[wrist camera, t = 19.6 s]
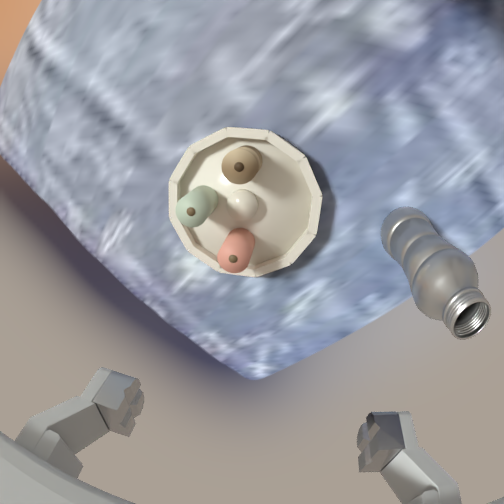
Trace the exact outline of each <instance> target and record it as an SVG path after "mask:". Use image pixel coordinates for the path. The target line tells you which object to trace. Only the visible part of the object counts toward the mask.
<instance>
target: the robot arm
mask: <svg viewBox="0 0 504 504" xmlns="http://www.w3.org/2000/svg"><path fill="white" fill-rule="evenodd" d="M140 385H141V384H140V381H139V379H137V378H134V377H131V376H128V375H125V374H122V373H119V372H116V371H113V370H110V369H107V368H103V367H101V368H100V369H98V371H97V372H96V374H95V375H94V377H93V378H92V380H91V381H90V383H89V384H88V386H87V387H86V389H85V390H84V392H83V393H82V395H81V396H80V397H79V396H76V397H73V398H71V399H69V400H67V401H65V402H63V403H61V404H59V405H56V406H55V407H52V408H50V409H48V410H46V411H44V412H41V413H39V414H37V415H35V416H33V417H31V418H30V419H29V420H28V422H27V423H26V425H25V426H24V428H23V429H22V431H21V432H20V434H19V435H18V437H17V438H16V440H15V441H13V440H12V439H10V438H9V437H8V436H6V435H5V434H4V433H2V432H1V431H0V504H135V503H132V502H130V501H127V500H124V499H122V498H119V497H117V496H114V495H112V494H109V493H107V492H105V491H102V490H100V489H98V488H96V487H93V486H91V485H89V484H87V483H85V482H83V481H81V480H79V479H77V478H78V476H79V474H80V472H81V470H82V468H83V465H82V463H81V462H80V461H79V459H78V458H77V457H76V456H75V454H76V453H78V452H79V451H81V450H82V449H84V448H85V447H87V446H88V445H90V444H91V443H93V442H94V441H96V440H97V439H99V438H100V437H102V436H103V435H105V434H106V433H108V432H109V430H110V431H113V432H116V433H119V434H122V435H125V436H128V437H129V436H130V434H131V432H132V430H133V428H134V426H135V420H134V418H135V417H136V416H138V415H140V413H141V411H142V409H143V404H144V395H143V392H142V391H141V390H140V389H139V387H140ZM366 420H367V422H366V423H364V424H362V425H361V427H360V429H359V432H358V436H357V447H358V448H359V450H360V451H361V452H362V453H361V454H360V455H359V457H358V461H359V472H380V473H381V475H382V476H383V477H384V479H385V480H386V482H387V483H388V485H389V486H390V487H391V489H392V490H393V492H394V493H395V494H396V496H397V497H398V499H399V500H400V502H401V503H402V504H462V503H461V498H460V492H459V487H458V483H457V482H456V481H455V480H454V479H453V478H452V477H451V476H450V475H449V474H448V473H447V472H446V471H445V470H444V469H443V468H442V467H441V466H440V465H439V464H438V463H437V462H436V461H435V460H434V459H433V458H432V457H431V456H430V455H429V454H428V453H427V452H426V451H425V450H424V449H423V448H419V446H418V442H417V437H416V433H415V429H414V425H413V420H412V417H411V414H410V412H407V411H406V412H371V413H369V414H368V416H367V417H366ZM487 504H504V497H502V498H500V499H497V500H495V501H492V502H490V503H487Z"/></svg>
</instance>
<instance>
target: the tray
mask: <svg viewBox="0 0 504 504" xmlns="http://www.w3.org/2000/svg"><path fill="white" fill-rule="evenodd" d="M244 145H249V146H253V147H255V148H256V149H257V150H258V151H259V152H260V153H261V156H262V166H261V168H260V170H259V171H258V172H257V174H256V175H255V177H254V178H253V179H252V180H251V181H250V182H248V183H246V184H234V183H231V182H230V181H228V180H227V179H226V178H225V177H224V175H223V173H222V169H221V165H222V160H223V158H224V157H225V155H226V154H227V153H229V152H230V151H232V150H234V149H236V148H238V147H241V146H244ZM304 156H305V154H303V153H302V152H300V151H299V150H298V149H296V148H295V147H294V146H293V145H291V144H290V143H289V142H288V141H286V140H284V139H283V138H281V137H280V136H278V135H277V134H275V133H274V132H272V131H270V132H269V130H263V129H253V128H238V127H226V128H223V129H221V130H219V131H217V132H215V133H213V134H211V135H209V136H207V137H205V138H203V139H202V140H200V141H198V142H196V143H194V144H192V145H190V147H188V149H187V150H186V152H185V153H184V155H183V157H182V158H181V160H180V162H179V164H178V165H177V167H176V169H175V170H174V172H173V174H172V176H171V177H170V181H169V217H171V218H170V221H171V223H172V224H173V226H174V228H175V230H176V232H177V233H178V235H179V237H180V239H181V241H182V242H183V244H184V246H185V248H186V250H189V251H188V252H189V253H191V254H192V255H194V256H195V257H197V258H198V259H200V260H201V261H203V262H204V263H206V264H207V265H208V266H210V267H211V268H213V269H214V270H216V271H217V272H218V271H219V272H220V273H227V274H234V275H242V276H249V277H255V276H256V277H259V276H261V275H264V274H267V273H270V272H273V271H275V270H278V269H281V268H284V267H287V266H289V265H291V264H293V262H294V261H295V260H296V259H297V258H298V257H299V255H300V254H301V253H302V252H303V251H304V250H305V248H306V247H307V246H308V245H309V244H310V243H311V241H312V240H313V239H314V238H315V237H316V235H317V229H318V223H319V216H320V210H321V203H322V193H321V190H320V188H319V185H318V183H317V181H316V178H315V176H314V173H313V171H312V169H311V167H310V164H309V162H308V160H307V158H306V156H305V157H304ZM201 185H205V186H209V187H211V188H212V189H214V190H215V192H216V193H217V196H218V205H217V207H216V209H215V210H214V211H213V212H212V213H211V215H210V216H209V217H208V218H207V219H206V220H205V222H204V223H203V224H202V225H200V226H198V227H187V226H185V225H183V224H182V223H181V222H180V221H179V220H178V218H177V216H176V205H177V202H178V201H179V200H180V199H181V198H182V197H184V196H185V195H186V194H188V193H189V192H190V191H192V190H193V189H195V188H196V187H198V186H201ZM236 228H244V229H247V230H249V231H250V232H251V233H252V234H253V236H254V238H255V246H254V249H253V252H252V255H251V258H250V261H249V264H248V267H247V268H246V269H245V270H244V271H242V272H240V273H230V272H227V271H225V270H224V269H223V268H221V266H220V265H219V263H218V260H217V254H218V251H219V250H220V248H221V246H222V244H223V243H224V241H225V239H226V237H227V236H228V234H229V232H230V231H232V230H233V229H236Z"/></svg>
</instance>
